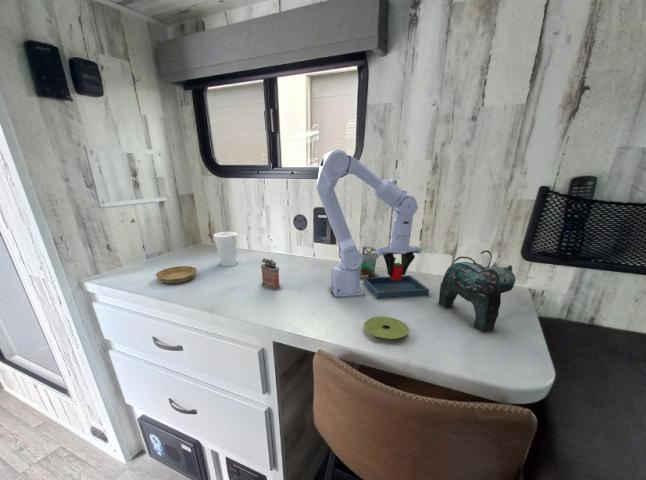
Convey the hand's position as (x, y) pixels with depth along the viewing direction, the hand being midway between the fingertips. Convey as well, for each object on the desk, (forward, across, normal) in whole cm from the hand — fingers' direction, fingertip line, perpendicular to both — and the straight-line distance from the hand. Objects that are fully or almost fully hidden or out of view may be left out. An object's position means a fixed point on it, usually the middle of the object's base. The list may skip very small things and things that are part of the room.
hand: (396, 274), depth 103 cm
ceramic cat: (+6, +11, -22) cm, 26 cm away
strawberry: (+1, 0, 0) cm, 1 cm away
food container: (+6, -4, +15) cm, 17 cm away
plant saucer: (+6, -77, +24) cm, 81 cm away
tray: (+6, 0, 0) cm, 6 cm away
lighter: (+6, -42, +10) cm, 44 cm away
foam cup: (+6, -59, +39) cm, 71 cm away
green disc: (+6, -14, -27) cm, 31 cm away
